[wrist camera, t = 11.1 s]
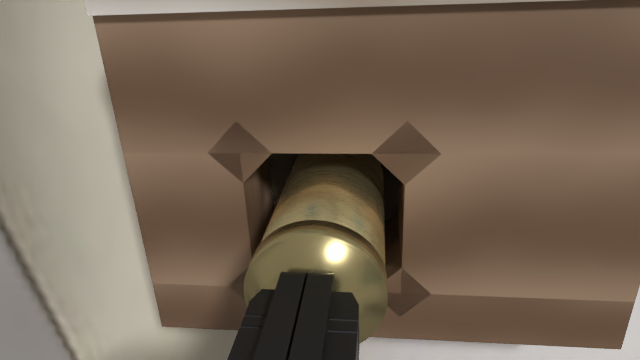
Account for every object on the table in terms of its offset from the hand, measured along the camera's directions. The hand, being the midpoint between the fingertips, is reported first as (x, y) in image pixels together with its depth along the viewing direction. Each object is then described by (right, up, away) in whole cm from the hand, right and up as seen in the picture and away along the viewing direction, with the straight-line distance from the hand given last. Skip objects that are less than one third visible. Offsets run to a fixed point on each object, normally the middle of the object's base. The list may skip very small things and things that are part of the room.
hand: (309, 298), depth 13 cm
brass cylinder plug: (+1, +3, +7) cm, 8 cm away
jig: (+3, +5, +6) cm, 8 cm away
